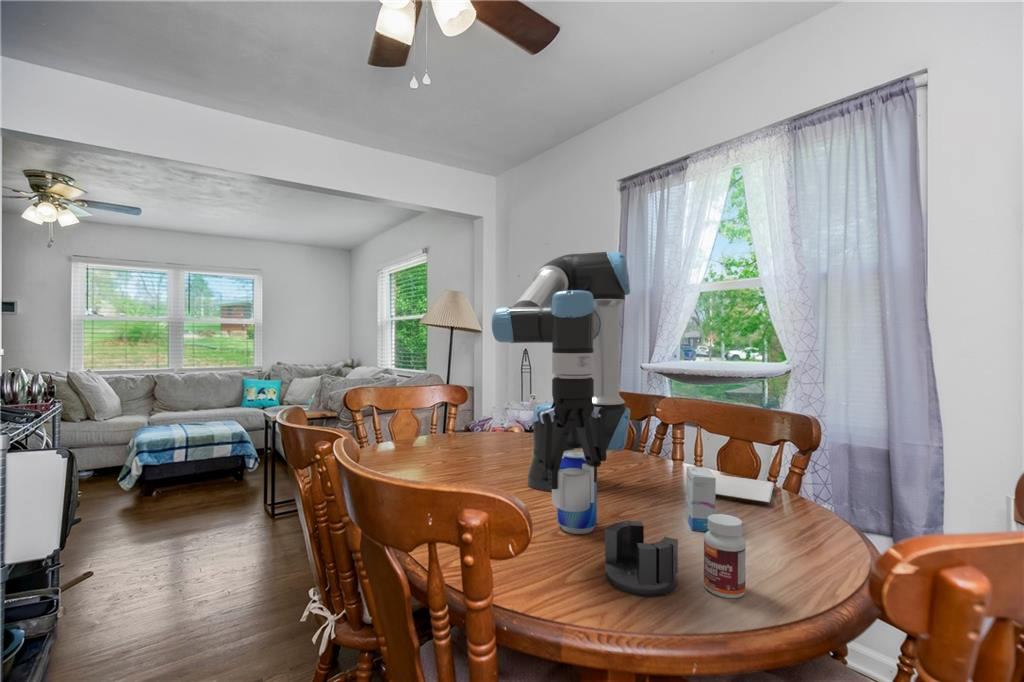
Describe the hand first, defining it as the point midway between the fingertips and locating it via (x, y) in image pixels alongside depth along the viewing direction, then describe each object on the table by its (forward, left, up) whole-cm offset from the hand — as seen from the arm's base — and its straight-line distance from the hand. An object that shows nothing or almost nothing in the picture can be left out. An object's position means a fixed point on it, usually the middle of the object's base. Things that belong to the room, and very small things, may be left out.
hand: (573, 503), depth 86 cm
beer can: (-13, +10, -11) cm, 19 cm away
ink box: (-3, +35, -11) cm, 37 cm away
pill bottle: (+19, +17, -11) cm, 27 cm away
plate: (-16, +61, -11) cm, 64 cm away
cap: (0, 0, 0) cm, 0 cm away
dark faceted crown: (+10, +7, -11) cm, 16 cm away
